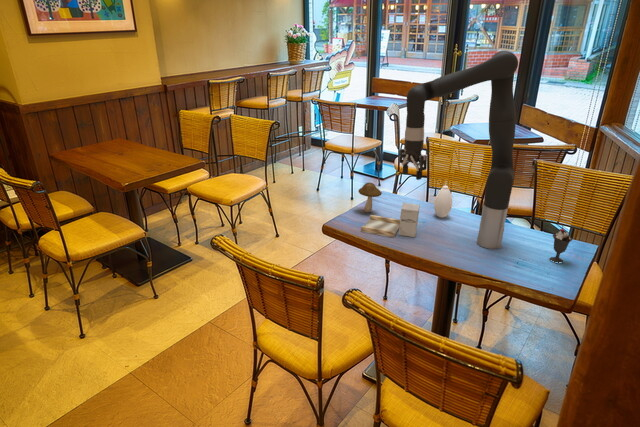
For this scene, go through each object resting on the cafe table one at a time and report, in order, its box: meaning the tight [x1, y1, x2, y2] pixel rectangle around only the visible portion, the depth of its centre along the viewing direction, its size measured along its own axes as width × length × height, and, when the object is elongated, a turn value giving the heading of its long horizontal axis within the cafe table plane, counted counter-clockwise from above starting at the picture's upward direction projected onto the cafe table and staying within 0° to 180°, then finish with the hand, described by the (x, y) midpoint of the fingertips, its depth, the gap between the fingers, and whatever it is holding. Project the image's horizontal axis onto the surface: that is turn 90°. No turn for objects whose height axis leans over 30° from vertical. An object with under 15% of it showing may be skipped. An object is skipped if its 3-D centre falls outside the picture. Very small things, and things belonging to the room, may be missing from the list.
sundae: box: [549, 223, 574, 263], centre depth 163 cm, size 7×7×15 cm
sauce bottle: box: [433, 180, 453, 219], centre depth 199 cm, size 8×8×18 cm
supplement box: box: [398, 202, 421, 238], centre depth 184 cm, size 7×7×13 cm
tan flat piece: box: [360, 214, 400, 238], centre depth 191 cm, size 14×14×2 cm
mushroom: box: [358, 182, 383, 213], centre depth 204 cm, size 9×11×15 cm
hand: (411, 176), depth 178 cm, fingers open, 8 cm apart
